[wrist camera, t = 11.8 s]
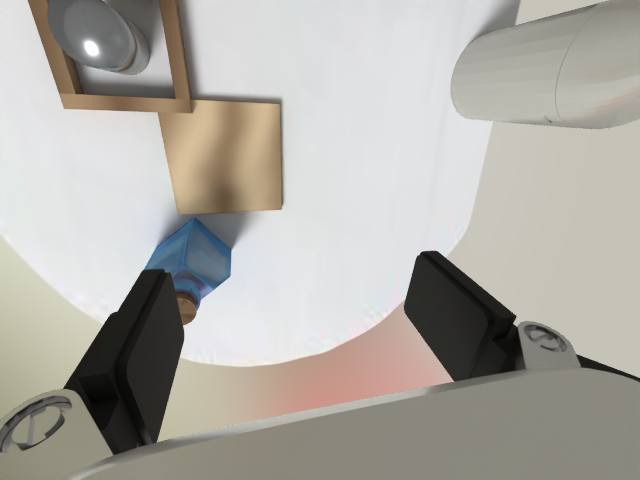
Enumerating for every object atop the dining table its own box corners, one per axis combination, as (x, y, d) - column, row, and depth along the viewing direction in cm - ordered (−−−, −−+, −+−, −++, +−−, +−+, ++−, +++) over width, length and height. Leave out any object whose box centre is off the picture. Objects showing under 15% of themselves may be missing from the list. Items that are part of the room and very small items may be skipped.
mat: (279, 103, 30) (279, 104, 29) (281, 208, 35) (281, 209, 35) (156, 97, 27) (154, 97, 26) (179, 212, 32) (178, 214, 32)
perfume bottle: (155, 248, 33) (119, 314, 23) (194, 217, 33) (175, 270, 22) (195, 278, 36) (179, 348, 26) (231, 250, 36) (229, 310, 26)
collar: (174, -21, 23) (170, -28, 22) (193, 112, 28) (191, 113, 27) (24, -43, 21) (9, -53, 20) (73, 108, 25) (64, 108, 24)
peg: (143, 18, 24) (114, -6, 18) (154, 76, 26) (132, 70, 20) (84, 12, 23) (35, -16, 17) (100, 73, 25) (61, 65, 19)
